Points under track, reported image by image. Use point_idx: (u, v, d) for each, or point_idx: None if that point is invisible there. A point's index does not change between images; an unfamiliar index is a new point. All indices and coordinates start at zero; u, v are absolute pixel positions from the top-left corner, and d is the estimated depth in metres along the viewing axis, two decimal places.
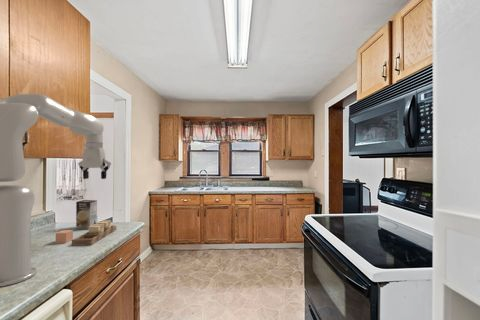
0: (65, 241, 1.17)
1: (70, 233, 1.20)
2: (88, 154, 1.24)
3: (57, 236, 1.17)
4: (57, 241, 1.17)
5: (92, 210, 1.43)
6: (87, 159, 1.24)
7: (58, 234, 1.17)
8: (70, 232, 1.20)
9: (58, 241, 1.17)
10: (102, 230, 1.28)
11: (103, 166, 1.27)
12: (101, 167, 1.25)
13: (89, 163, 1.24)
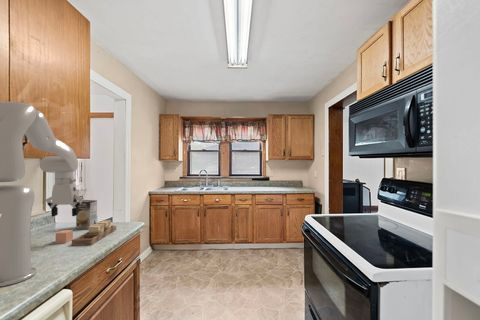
0: (65, 241, 1.17)
1: (70, 233, 1.20)
2: None
3: (57, 236, 1.17)
4: (57, 241, 1.17)
5: (92, 210, 1.43)
6: None
7: (58, 234, 1.17)
8: (70, 232, 1.20)
9: (58, 241, 1.17)
10: (102, 230, 1.28)
11: None
12: None
13: None
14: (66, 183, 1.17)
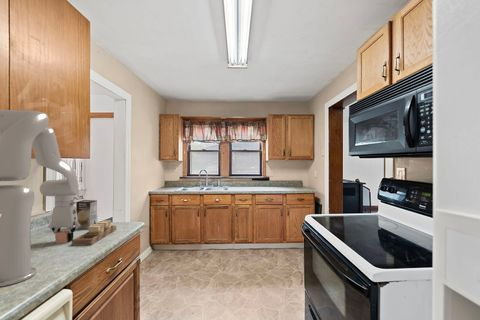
0: (65, 241, 1.17)
1: None
2: None
3: (57, 236, 1.17)
4: (57, 240, 1.17)
5: (92, 210, 1.43)
6: None
7: (58, 234, 1.17)
8: None
9: (58, 241, 1.17)
10: (102, 230, 1.28)
11: None
12: None
13: None
14: (66, 206, 1.17)
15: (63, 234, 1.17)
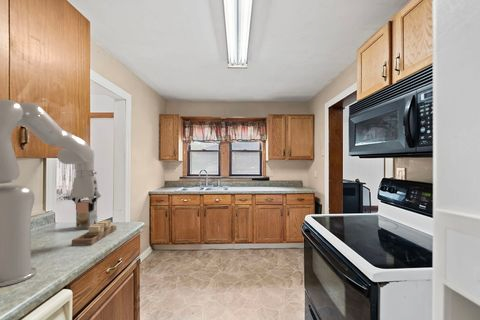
0: (86, 211, 1.16)
1: None
2: None
3: (78, 206, 1.16)
4: (78, 210, 1.16)
5: None
6: None
7: (79, 204, 1.16)
8: None
9: (79, 211, 1.16)
10: (102, 230, 1.28)
11: None
12: None
13: None
14: (87, 175, 1.16)
15: (84, 204, 1.16)
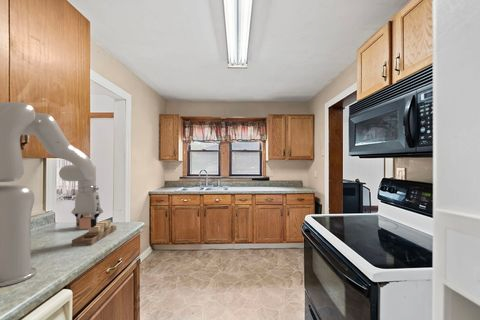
0: (89, 226, 1.16)
1: None
2: None
3: (81, 221, 1.16)
4: (81, 226, 1.16)
5: None
6: None
7: (82, 219, 1.16)
8: None
9: (82, 226, 1.16)
10: (102, 230, 1.28)
11: None
12: None
13: None
14: (89, 191, 1.16)
15: (87, 220, 1.16)
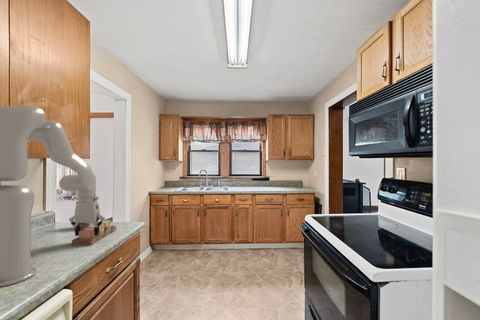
0: None
1: (93, 232, 1.19)
2: None
3: (80, 234, 1.16)
4: None
5: None
6: None
7: (81, 232, 1.16)
8: (93, 230, 1.19)
9: None
10: (102, 230, 1.28)
11: None
12: None
13: None
14: (89, 201, 1.16)
15: (86, 232, 1.16)
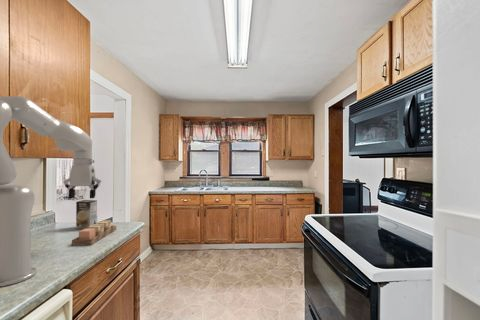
0: None
1: (93, 232, 1.19)
2: None
3: (80, 234, 1.16)
4: None
5: (92, 210, 1.43)
6: None
7: (81, 232, 1.16)
8: (93, 230, 1.19)
9: None
10: (102, 230, 1.28)
11: None
12: (74, 185, 1.17)
13: None
14: (85, 164, 1.14)
15: (86, 232, 1.16)
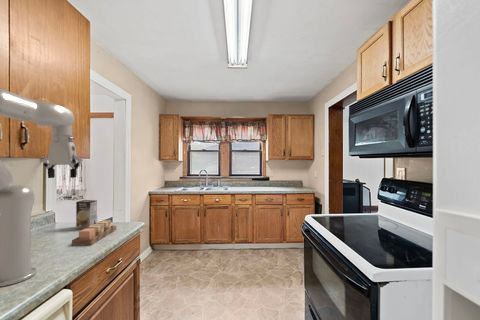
0: None
1: (93, 232, 1.19)
2: None
3: (80, 234, 1.16)
4: None
5: (92, 210, 1.43)
6: None
7: (81, 232, 1.16)
8: (93, 230, 1.19)
9: None
10: (102, 230, 1.28)
11: None
12: (54, 164, 1.10)
13: None
14: (64, 141, 1.07)
15: (86, 232, 1.16)
